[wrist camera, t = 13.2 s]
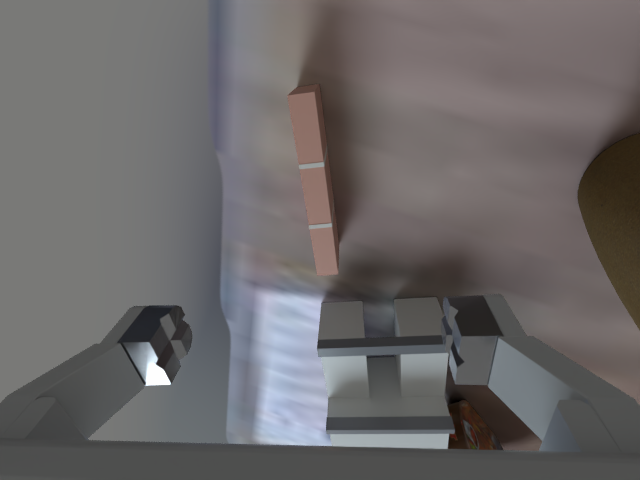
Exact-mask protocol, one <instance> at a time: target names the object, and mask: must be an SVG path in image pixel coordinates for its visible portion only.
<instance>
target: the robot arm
mask: <svg viewBox="0 0 640 480" xmlns="http://www.w3.org/2000/svg"><path fill="white" fill-rule="evenodd" d="M443 310H444V313H445V316H444V317H443V318H442V320H441V333H442V341H443V345H444V349H445V352H447V353H448V354H449V355H450V359H449V366H450V369H451V372H452V376H453V379H454V382H455V384H459V385H488V387H489V388H490V389H491V390H492V391H493V392H494V393H495V394H496V395H497V396H498V397H499V398H500V399H501V400H502V401H503V402H504V403H505V404H506V405H507V406H508V407H509V408H510V409H511V410H512V411H513V412H514V413H515V414H516V415H517V416H518V417H519V418H520V419H521V420H522V421H523V422H524V423H525V424H526V425H527V426H528V427H529V428H530V429H531V430H532V431H533V432H534V433H535V434H536V435H537V436H538V437H539V438H540V439H541V440H542V441H543V442H542V444H541V447H540V450H539V451H517V450H475V449H434V448H391V447H346V446H301V445H260V444H221V443H180V442H179V443H178V442H138V441H96V440H89V439H88V438H89V437H90V436H91V435H92V434H93V433H94V432H95V431H96V430H98V429H99V428H100V427H101V426H102V425H103V424H104V423H105V422H106V421H107V420H109V418H111V417H112V416H113V415H114V414H115V413H116V412H118V411H119V410H120V409H121V408H122V407H123V406H124V405H125V404H126V403H128V402H129V401H130V400H131V399H132V398H133V397H134V396H135V395H136V394H138V393H139V392H140V391H141V390H142V389H143V388H144V387H145V385H166V384H172V382H173V380H174V378H175V376H176V374H177V372H178V370H179V369H180V367H181V365H180V361H179V360H180V359H182V358H183V357H184V356H186V355H187V353H188V351H189V349H190V347H191V343H192V331H191V329H190V326H189V324H187V323H186V322H185V321H183V318H184V316H185V314H184V312H183V310H182V308H181V307H180V306H177V305H166V306H164V305H157V306H134V307H131V308H130V309H129V310H128V311H127V312H126V314H124V316H123V317H122V318H121V319H120V320H119V321H118V323H117V324H116V325H115V326H114V328H113V329H112V330H111V331H110V332H109V333H108V335H107V336H106V337H105V338H104V339H103V341H102V342H101V343H100V344H94V345H92V346H91V347H89V348H87V349H85V350H84V351H82V352H80V353H79V354H77V355H75V356H74V357H72V358H70V359H69V360H67V361H65V362H63V363H62V364H60V365H58V366H57V367H55V368H53V369H52V370H50V371H48V372H47V373H45V374H43V375H42V376H40V377H38V378H36V379H35V380H33V381H32V382H30V383H28V384H26V385H25V386H23V387H21V388H20V389H18V390H16V391H14V392H13V393H11V394H9V395H8V396H7V397H6V398H5V399H4V400H3V401H2V402H1V403H0V480H640V405H639V404H638V403H637V402H636V400H635V399H634V398H632V397H630V396H629V395H627V394H625V393H624V392H622V391H621V390H619V389H617V388H616V387H614V386H613V385H611V384H609V383H608V382H606V381H605V380H603V379H601V378H600V377H598V376H596V375H595V374H593V373H592V372H590V371H588V370H587V369H585V368H584V367H582V366H580V365H579V364H577V363H575V362H574V361H572V360H571V359H569V358H567V357H566V356H564V355H563V354H561V353H559V352H558V351H556V350H555V349H553V348H551V347H550V346H548V345H546V344H545V343H543V342H542V341H540V340H538V339H537V338H535V337H534V336H527V335H526V334H525V332H524V330H523V329H522V327H521V325H520V324H519V322H518V320H517V319H516V317H515V315H514V314H513V312H512V310H511V309H510V307H509V305H508V304H507V302H506V300H505V299H504V297H503V296H502V295H501V294H487V295H473V296H448V297H444V300H443Z"/></svg>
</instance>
